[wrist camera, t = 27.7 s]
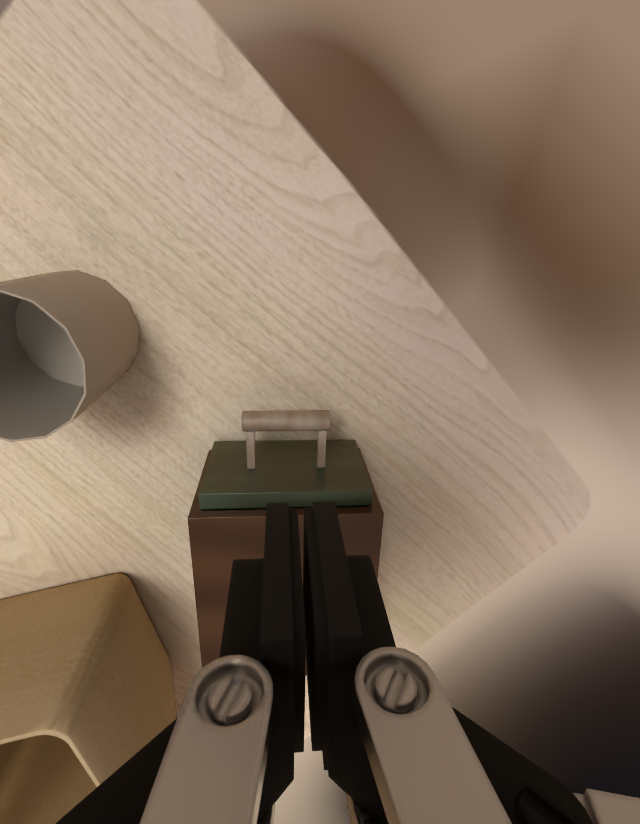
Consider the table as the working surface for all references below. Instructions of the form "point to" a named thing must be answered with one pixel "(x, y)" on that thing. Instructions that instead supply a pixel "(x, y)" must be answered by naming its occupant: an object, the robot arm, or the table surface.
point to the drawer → (284, 466)
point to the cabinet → (256, 554)
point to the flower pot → (75, 693)
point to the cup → (59, 349)
